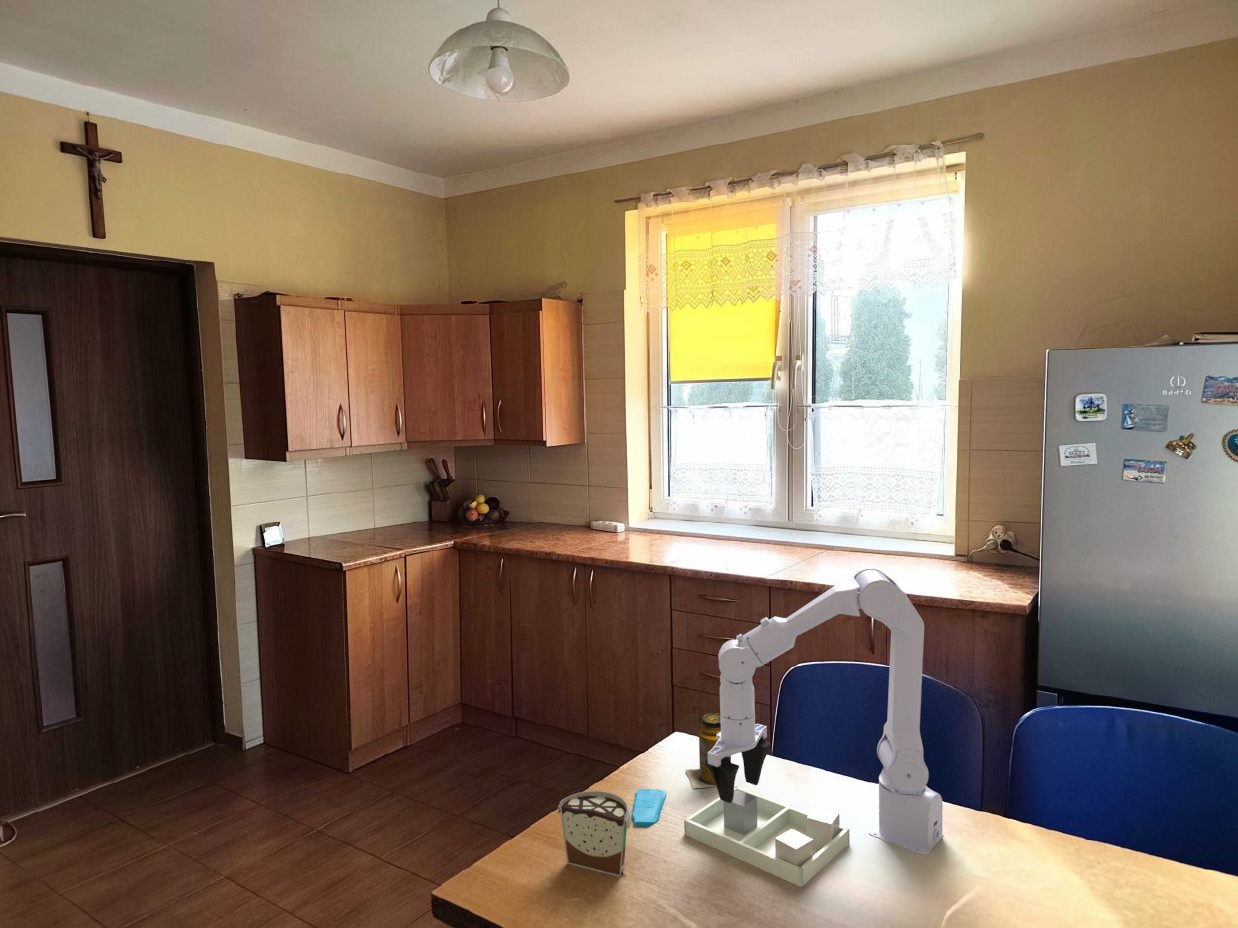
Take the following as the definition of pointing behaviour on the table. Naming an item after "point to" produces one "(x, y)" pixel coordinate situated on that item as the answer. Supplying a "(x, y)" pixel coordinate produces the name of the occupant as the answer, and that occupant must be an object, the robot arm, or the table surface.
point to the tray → (763, 838)
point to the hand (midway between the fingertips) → (739, 791)
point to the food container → (595, 830)
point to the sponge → (648, 806)
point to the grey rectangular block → (741, 813)
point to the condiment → (705, 751)
